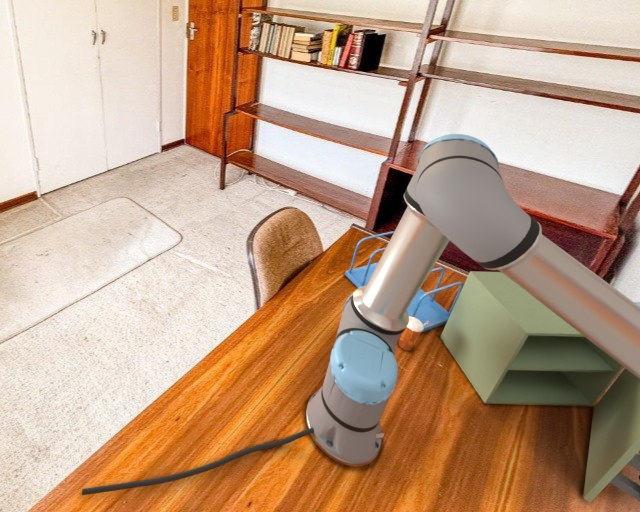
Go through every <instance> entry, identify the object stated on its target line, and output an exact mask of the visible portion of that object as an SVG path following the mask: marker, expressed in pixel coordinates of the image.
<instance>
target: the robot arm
mask: <svg viewBox="0 0 640 512" xmlns="http://www.w3.org/2000/svg"><path fill="white" fill-rule="evenodd" d="M499 167H500V164H499V159H498V157H497V155H496V154H495V152H494V151H493V150H492V149H491V148H490V147H489V145H488V144H487V143H486V142H484V141H482V140H481V139H479V138H477V137H475V136H472V135H469V134H463V133H449V134H445V135H441V136H438V137H436V138H434V139H432V140H431V141H429V142H428V143H427V144H425V146H424V147H423V149H422V150H421V151H420V153H419V155H418V158H417V167H416V169H415V171H414V173H413V175H412V177H411V179H410V181H409V182H408V185H407V187H406V189H405V191H404V193H403V199H404V202H405V203H406V205H407V207H406V209H405V210H404V213H403V215H402V216H401V219H400V220H399V222H398V224H397V226H396V228H395V229H394V231H395V232H394V233H393V234H391V237H390V240H389V241H388V243H387V245H386V247H385V248H386V249H385V250H384V251H383V253H382V255H381V257H380V259H379V260H378V261H377V263H378V264H377V266H376V268H375V270H374V272H373V274H372V276H371V278H370V279H369V281H368V283H367V285H366V286H361V287H359V288H357V287H356V289H355V290H354V291H353V293H351V294H350V295H349V297H347V299H346V300H345V302H344V305H343V306H342V311H341V318H340V322H339V325H338V329H337V332H336V336H335V340H334V344H333V347H332V348H331V352H330V357H329V362H328V365H327V369H326V373H325V377H324V380H323V382H322V385H321V387H320V388H319V389H318V390H316V391H315V392H314V393H313V394H312V395H311V397H310V398H309V400H308V403H307V406H306V409H305V423H306V427H307V429H304V430H301V431H299V432H296V433H294V434H292V435H290V436H288V437H285V438H281V439H279V440H273V441H270V442H265V443H261V444H257V445H253V446H251V447H247V448H244V449H241V450H239V451H237V452H234V453H232V454H230V455H227V456H226V457H223V458H221V459H219V460H216V461H214V462H210V463H208V464H205V465H202V466H199V467H196V468H192V469H189V470H185V471H182V472H178V473H175V474H170V475H165V476H159V477H155V478H154V477H153V478H149V479H141V480H135V481H134V480H133V481H128V482H122V483H114V484H106V485H100V486H93V487H85V488H82V489H81V496H87V495H94V494H101V493H102V494H103V493H108V492H116V491H122V490H123V491H124V490H128V489H135V488H136V489H137V488H141V487H148V486H149V487H150V486H154V485H160V484H165V483H170V482H174V481H179V480H183V479H186V478H189V477H193V476H197V475H199V474H202V473H206V472H207V471H211V470H213V469H216V468H219V467H221V466H224V465H225V464H228V463H230V462H232V461H234V460H237V459H239V458H241V457H243V456H246V455H249V454H253V453H256V452H259V451H263V450H264V451H265V450H269V449H273V448H277V447H280V446H283V445H287V444H289V443H292V442H294V441H297V440H300V439H301V438H304V437H306V436H308V435H310V437H311V439H312V441H313V442H314V444H315V445H316V446H317V447H318V448H319V449H320V451H321V452H322V453H323V454H324V455H326V456H327V457H328V458H329V459H331V460H333V461H334V462H336V463H338V464H340V465H343V466H346V467H351V468H361V467H365V466H368V465H370V464H371V463H372V462H374V460H375V459H376V458H377V456H378V455H379V453H380V450H381V447H382V440H383V438H384V436H385V432H384V433H383V432H382V427H381V426H382V425H381V419H382V416H383V415H384V412H385V409H386V407H387V405H388V402H389V401H390V398H391V395H392V394H393V393H394V390H395V389H396V386H397V382H398V374H399V368H398V363H397V359H396V347H397V344H398V343H399V338H400V336H401V335H402V333H403V332H404V330H405V328H406V327H407V325H408V323H409V315H408V312H407V309H408V307H409V305H410V304H411V302H412V301H413V299H414V297H415V296H416V294H417V293H418V291H419V289H422V286H423V284H424V283H425V282H426V280H427V278H428V277H429V275H430V274H431V273H432V272H431V270H432V269H434V268H435V265H436V263H437V262H438V260H439V259H440V257H441V255H442V254H443V252H444V251H445V250H446V247H447V246H448V244H449V243H450V242H451V243H452V244H453V245H455V246H456V247H457V248H458V249H459V250H460V251H462V252H463V253H464V254H465V255H467V256H468V257H469V258H470V259H472V260H473V261H474V262H476V263H477V264H478V265H479V266H481V267H482V268H483V269H485V270H489V271H498V272H502V273H503V274H504V275H506V276H507V277H508V278H509V279H511V280H512V281H513V282H515V283H516V284H517V285H518V286H520V287H521V288H522V289H524V290H525V291H526V292H528V293H529V294H530V295H531V296H533V297H534V298H535V299H537V300H538V301H539V302H540V303H542V304H543V305H544V306H546V307H547V308H548V309H550V310H551V311H552V312H553V313H555V314H556V315H557V316H559V317H560V318H561V319H563V320H564V321H565V322H566V323H568V324H569V325H570V326H572V327H573V328H574V329H575V330H577V331H578V332H579V333H581V334H582V335H583V336H585V337H586V338H587V339H588V340H590V341H591V342H592V343H594V344H595V345H596V346H597V347H599V348H600V349H601V350H603V351H604V352H605V353H607V354H608V355H609V356H610V357H612V358H613V359H614V360H616V361H617V362H618V363H620V364H621V365H622V366H623V367H624V369H625V368H626V369H627V370H629V371H630V372H631V373H632V374H634V375H635V376H636V377H638V378H639V379H640V301H633V300H631V299H630V297H629V298H628V296H626V295H625V294H623V293H622V292H621V291H620V290H618V289H617V288H615V287H614V286H613V285H611V284H610V283H609V282H607V281H605V279H603V278H601V277H600V276H599V275H597V274H596V273H595V272H594V271H592V270H590V268H588V267H587V266H585V265H584V264H583V263H581V262H580V261H579V260H577V259H576V258H575V257H573V256H572V255H571V254H569V253H568V252H566V251H565V250H564V249H563V248H561V247H560V246H558V245H557V244H556V243H555V242H553V241H552V240H551V239H549V238H548V237H546V236H545V235H543V234H542V233H543V232H542V231H543V229H542V224H540V222H539V221H537V220H536V219H535V218H533V217H532V216H531V215H530V214H528V213H527V212H526V211H524V210H523V208H521V207H520V206H519V204H518V203H517V202H516V201H515V199H514V198H512V195H511V194H510V193H509V191H508V189H507V188H506V186H505V183H504V180H503V177H502V173H501V170H500V168H499ZM430 272H431V273H430ZM638 480H640V474H639V475H638Z"/></svg>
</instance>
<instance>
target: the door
mask: <svg viewBox="0 0 640 512" xmlns="http://www.w3.org/2000/svg"><path fill="white" fill-rule="evenodd" d="M591 419H592V420H591V429H590V437H589V446H588V452H587V453H588V454H587V461H586V462H587V463H586V471H585V478H584V479H585V481H584V487H583V495H582V496H583V497H582V498H583V500H585V501H586V502H587V503H589V504H590V503H591V502H593V500H595V498H597V496H598V495H599V494H601V492H602V491H603V490H604V489H605V488H606V487H607V486H608V485H609V484H612V485H613V486H615V487H616V488H618V489H619V490H621V491H622V492H624V493H625V494H627V495H629V496H630V497H632V498H633V499H635V500H636V501H637V502H640V484H638V483H637V482H636V481H634V480H632V479H630V478H629V477H627V476H626V475H624V474H622V473H621V472H622V470H623V469H624V468H625V467H626V466H627V465H628V466H630V467H631V468H633V469H634V470H637V471H638V472H640V454H638V453H639V452H640V379H639V378H638V377H636V376H635V375H634V374H632V373H631V372H630V371H629V370H627V369H626V368H625V367H624V368H623V369H622V370H621V372H620V373H619V374H618V375H617V377H616V378H615V379H614V380H613V382H612V383H611V384H610V386H609V387H608V388H607V389H606V391H605V392H604V393H603V394H602V396H601V397H600V398H599V399H598V401H597V402H596V403H595V405H594V406H593V410H592V418H591Z"/></svg>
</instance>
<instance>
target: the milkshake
mask: <svg viewBox="0 0 640 512" xmlns="http://www.w3.org/2000/svg"><path fill="white" fill-rule="evenodd" d="M428 322H429V320H428V321H427V322H426V323H424V324H422V323H421V321H420V320H418V319H417V318H415V317H410V316H409V323H408V325H407V327H406V328H405V330H404V332H403V333H402V335H401V336H400V338H399V340H398V345H399V347H400V348H401V349H403V350H404V351H411V350H413V348H414V346H415V344H416V342H417V341H418V339H419V337H420V335H421V334H422V333H423V332H422V331H423V329H424V325H426V324H427V323H428Z"/></svg>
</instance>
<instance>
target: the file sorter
mask: <svg viewBox="0 0 640 512" xmlns="http://www.w3.org/2000/svg"><path fill="white" fill-rule="evenodd" d="M394 232H395V230H393V231H387V232H383V233H378V234H375V235H371V236H367V237H364V238H361V239H360V240H359V241H358V243H357V244H356V246H355V249H354V253H353V255H352V260H351V263H350V264H351V265H350V267H349V269H348V270H346V271H345V273H344V276H346V278H347V279H348V280H349V281H350V282H351V283H352V284H353V285H354V286H355V287H356V289H357V288H359V287H361V286H366V285H367V283H368V281H369V279H370V278H371V276H372V274H373V272H374V270H375V268H376V266H377V264H378V262H374V263H372V260H373V258H374V257H375V255H376V254H378V253H380V252H384V251H385V249H386V247H383V248H378V249H377V250H374V252H372V254H371V255H370V256H369V259H368V262H367V265H363V266H359V267H355V268H353V267H354V264H355V261H356V257H357V253H358V250H359V247H360V246H361V243H363V242H364V241H368V240H371V239H375V238H379V237H384V236H387V235H393V234H394ZM439 271H441V273H440V276H439V279H438V281H437V283H436V286H435V288H434V289H433V290H429V291H427V292H425V291H424V290H423V289H422V288H420V289H419V291H418V293H417V294H416V296H415V297H414V299H413V301H412V302H411V304H410V305H409V307H408V309H407V312H408V315H409V316H410V317H415V318H417V319H418V320H420V321H421V323H422V324H424V323H426V322H427V321H428V320H429V322H428V323H427V324H426V325H424V329H423V331H422V332H421V333H423V332H424V333H425V332H427V331H429V330H432V329H435V328H438V327H441V326H444V325H446V323H447V321H448V319H449V317H450V314H451V312H452V310H453V308H454V306H455V303H456V301H457V299H458V297H459V295H460V293H461V290H462V288H463V286H464V283H463V282H461V281H457V282H454V283H450V284H448V285H445V286H441V287H440V285H441V283H442V280H443V279H444V275H445V274H446V273H445V272H446V269H445V268H443V267H435V268H432V270H431V272H430V273H429V274H431V273H435V272H439ZM459 285H460V287H459V289H458V292H457V294H456V296H455V298H454V300H453V302H452V304H451V307H450V309H449V311H447V310H446V309H445V308H444V307H443V306H442V305H441V304H439V302H437V301H436V300H435V297H436V295H437V293H438V292H441V291H444V290H447V289H450V288H453V287H457V286H459ZM430 295H432V296H430Z"/></svg>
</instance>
